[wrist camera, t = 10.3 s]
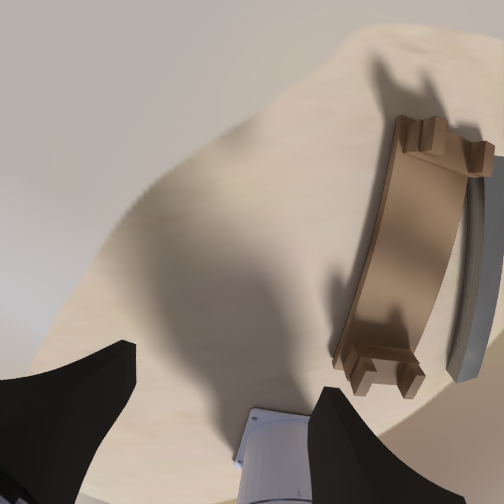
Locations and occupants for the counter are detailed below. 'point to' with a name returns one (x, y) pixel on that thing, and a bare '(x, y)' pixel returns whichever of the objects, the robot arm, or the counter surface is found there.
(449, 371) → the graphite rail
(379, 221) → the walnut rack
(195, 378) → the counter surface
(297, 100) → the counter surface
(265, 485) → the robot arm
